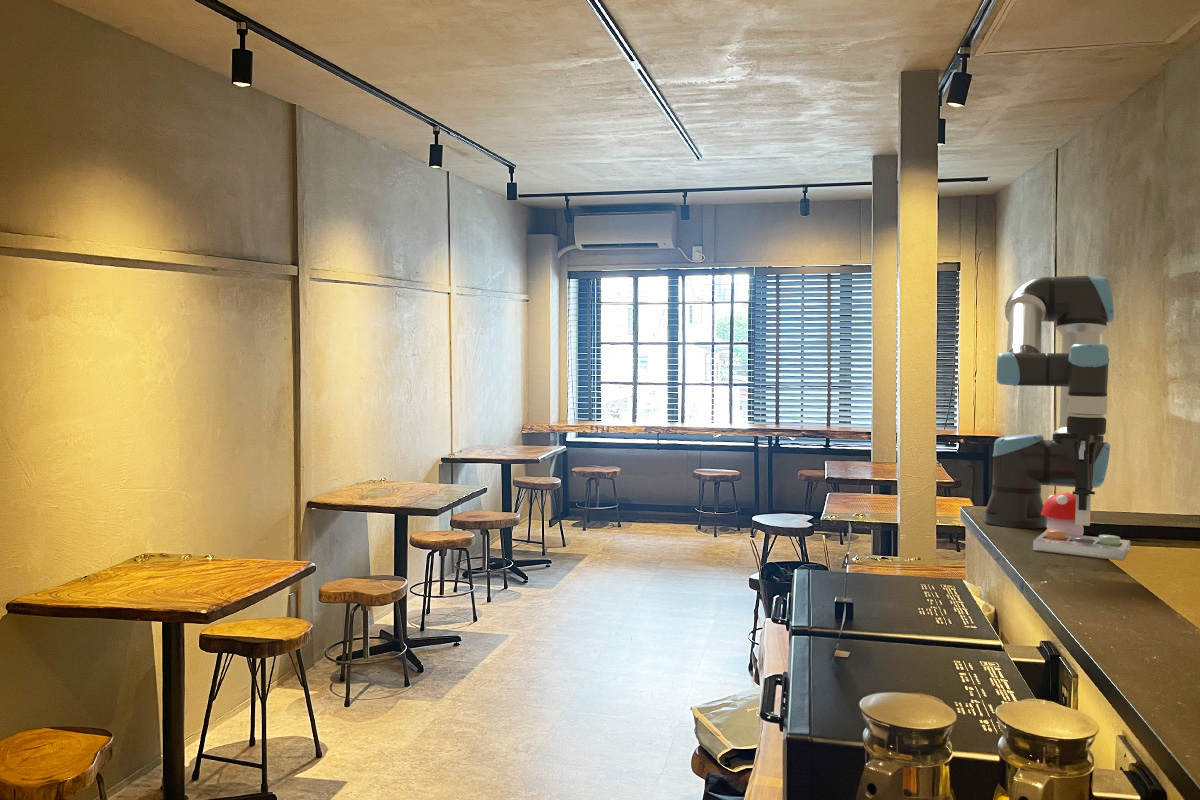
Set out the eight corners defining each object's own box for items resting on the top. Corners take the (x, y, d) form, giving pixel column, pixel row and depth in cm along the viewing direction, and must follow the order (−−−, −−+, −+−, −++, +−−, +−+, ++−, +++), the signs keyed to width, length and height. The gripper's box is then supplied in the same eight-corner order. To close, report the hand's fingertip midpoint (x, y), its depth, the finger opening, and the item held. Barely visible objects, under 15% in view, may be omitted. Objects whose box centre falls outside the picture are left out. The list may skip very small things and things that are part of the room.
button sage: (1099, 544, 201) (1100, 534, 201) (1120, 546, 199) (1121, 536, 199) (1097, 547, 198) (1097, 536, 198) (1118, 549, 196) (1119, 539, 196)
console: (1044, 546, 212) (1044, 531, 212) (1129, 556, 203) (1130, 540, 202) (1032, 556, 201) (1033, 540, 201) (1122, 567, 191) (1123, 550, 191)
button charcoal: (1072, 545, 204) (1073, 535, 204) (1093, 548, 202) (1093, 537, 202) (1070, 548, 201) (1070, 538, 201) (1090, 550, 199) (1091, 540, 199)
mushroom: (1056, 538, 224) (1058, 488, 223) (1101, 545, 214) (1103, 494, 214) (1030, 542, 218) (1032, 491, 217) (1076, 550, 209) (1078, 497, 208)
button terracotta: (1047, 538, 207) (1047, 528, 207) (1066, 540, 205) (1067, 530, 205) (1043, 541, 204) (1044, 531, 204) (1064, 543, 202) (1064, 533, 202)
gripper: (1071, 413, 208) (1067, 518, 209) (1062, 416, 197) (1058, 527, 198) (1109, 415, 204) (1105, 522, 205) (1102, 418, 193) (1098, 531, 194)
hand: (1082, 524), depth 202 cm, fingers closed
